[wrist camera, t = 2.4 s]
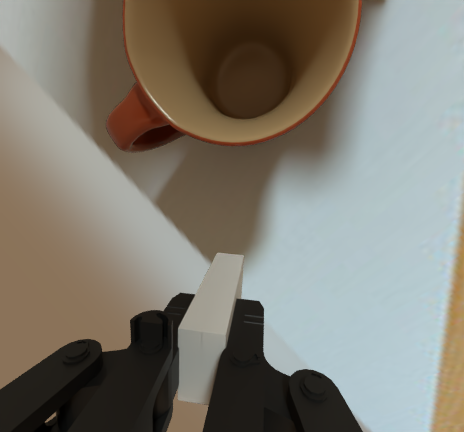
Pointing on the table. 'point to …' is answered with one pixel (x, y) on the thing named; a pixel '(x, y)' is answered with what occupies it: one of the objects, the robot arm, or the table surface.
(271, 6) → the mug
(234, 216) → the table surface
